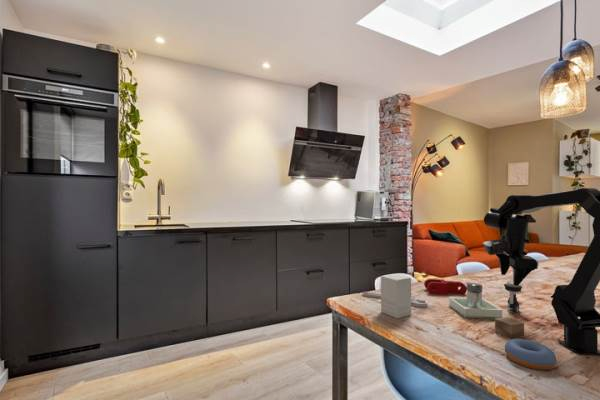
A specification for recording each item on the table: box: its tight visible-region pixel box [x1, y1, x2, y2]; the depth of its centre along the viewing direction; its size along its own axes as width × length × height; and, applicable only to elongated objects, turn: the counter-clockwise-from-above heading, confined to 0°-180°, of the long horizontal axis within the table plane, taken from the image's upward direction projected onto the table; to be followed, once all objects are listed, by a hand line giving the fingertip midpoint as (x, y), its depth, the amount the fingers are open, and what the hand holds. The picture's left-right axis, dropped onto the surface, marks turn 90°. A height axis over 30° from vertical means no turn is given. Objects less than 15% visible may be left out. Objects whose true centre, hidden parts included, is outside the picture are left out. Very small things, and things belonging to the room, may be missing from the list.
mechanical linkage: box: [423, 278, 467, 296], centre depth 129 cm, size 16×7×5 cm, turn 79°
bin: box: [448, 297, 503, 320], centre depth 105 cm, size 12×12×3 cm
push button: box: [503, 281, 523, 314], centre depth 107 cm, size 7×5×10 cm
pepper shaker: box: [466, 282, 483, 309], centre depth 105 cm, size 5×5×9 cm
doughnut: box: [504, 338, 557, 371], centre depth 72 cm, size 10×10×5 cm
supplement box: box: [380, 273, 412, 319], centre depth 103 cm, size 7×7×13 cm
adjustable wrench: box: [362, 291, 428, 308], centre depth 119 cm, size 25×6×2 cm, turn 53°
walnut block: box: [494, 316, 525, 340], centre depth 87 cm, size 5×5×4 cm
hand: (509, 279), depth 99 cm, fingers open, 9 cm apart
